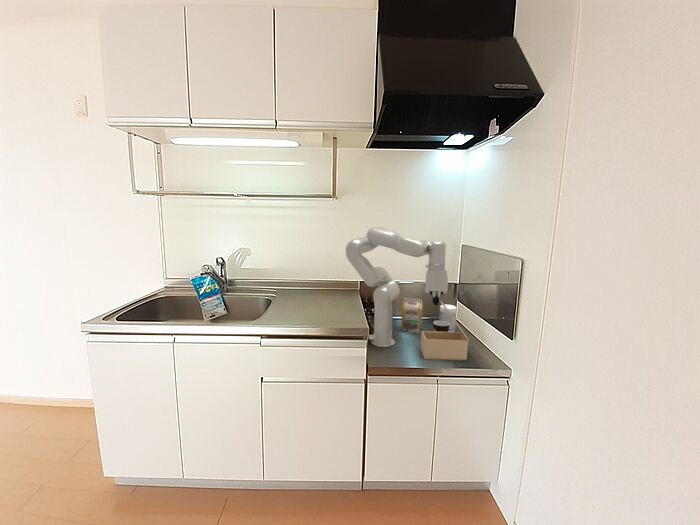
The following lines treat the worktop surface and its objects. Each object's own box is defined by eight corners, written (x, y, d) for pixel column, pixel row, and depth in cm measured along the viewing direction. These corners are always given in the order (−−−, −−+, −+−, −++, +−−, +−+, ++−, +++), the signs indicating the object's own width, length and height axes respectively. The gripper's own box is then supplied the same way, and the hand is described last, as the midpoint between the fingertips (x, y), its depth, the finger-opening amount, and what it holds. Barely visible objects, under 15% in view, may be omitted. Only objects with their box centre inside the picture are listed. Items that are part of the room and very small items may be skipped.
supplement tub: (435, 330, 203) (436, 306, 200) (443, 326, 209) (445, 303, 207) (449, 334, 196) (451, 309, 193) (458, 330, 202) (459, 306, 200)
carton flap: (442, 303, 158) (443, 302, 158) (437, 297, 169) (438, 296, 169) (468, 340, 161) (469, 339, 161) (461, 332, 172) (462, 331, 171)
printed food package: (401, 332, 199) (402, 300, 196) (403, 326, 209) (404, 296, 206) (419, 334, 196) (421, 302, 193) (421, 328, 206) (422, 297, 203)
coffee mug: (449, 344, 181) (450, 326, 180) (432, 343, 183) (433, 325, 181) (447, 336, 193) (448, 319, 191) (431, 335, 194) (432, 318, 193)
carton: (424, 359, 163) (425, 339, 162) (420, 349, 174) (421, 331, 172) (466, 360, 162) (468, 340, 161) (460, 350, 173) (461, 332, 172)
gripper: (422, 268, 158) (421, 306, 161) (454, 268, 157) (453, 306, 160) (419, 265, 166) (418, 302, 168) (450, 265, 165) (449, 302, 167)
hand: (435, 304), depth 164 cm, fingers closed
